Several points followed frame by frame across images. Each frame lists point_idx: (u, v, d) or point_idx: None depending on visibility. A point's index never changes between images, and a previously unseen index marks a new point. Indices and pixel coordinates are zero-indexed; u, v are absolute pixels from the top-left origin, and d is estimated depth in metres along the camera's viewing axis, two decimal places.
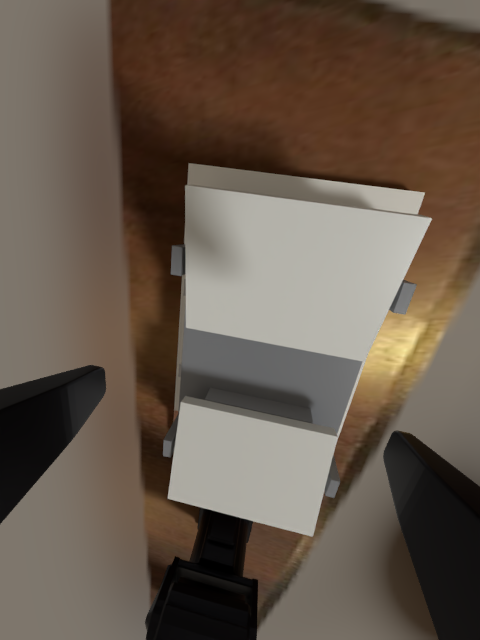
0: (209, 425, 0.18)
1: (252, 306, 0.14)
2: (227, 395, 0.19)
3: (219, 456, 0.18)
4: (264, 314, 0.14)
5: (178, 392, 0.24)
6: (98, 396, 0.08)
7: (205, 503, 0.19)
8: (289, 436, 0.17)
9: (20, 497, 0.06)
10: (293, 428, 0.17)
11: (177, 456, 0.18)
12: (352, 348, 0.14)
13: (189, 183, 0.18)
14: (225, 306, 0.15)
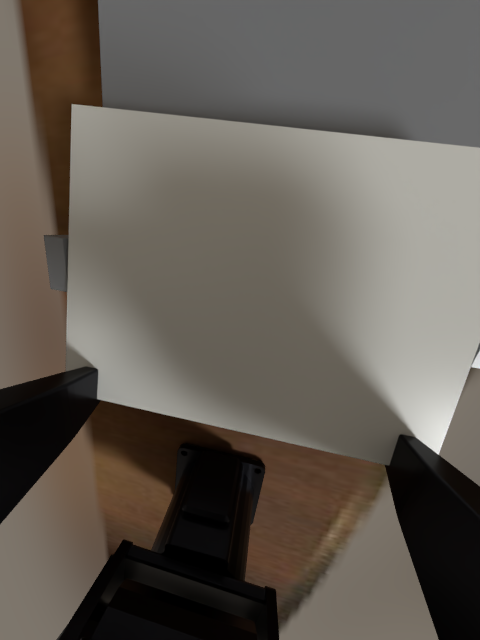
0: (153, 170, 0.06)
1: None
2: None
3: (183, 264, 0.07)
4: None
5: None
6: None
7: (154, 398, 0.08)
8: (388, 173, 0.06)
9: (20, 497, 0.06)
10: (401, 146, 0.06)
11: (77, 275, 0.07)
12: None
13: None
14: None
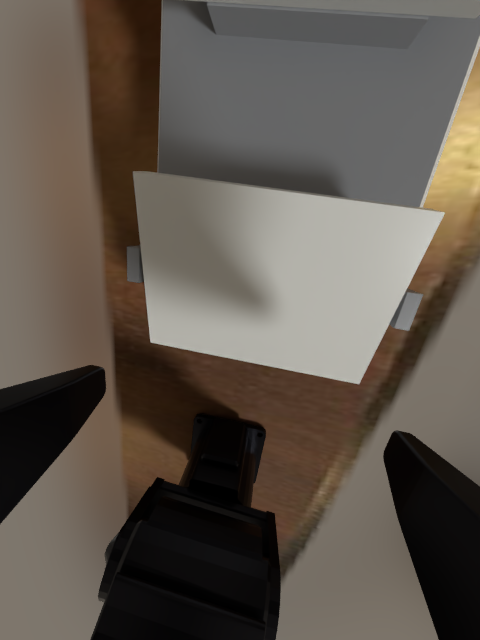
0: (192, 216, 0.10)
1: None
2: None
3: (215, 274, 0.11)
4: None
5: None
6: (98, 396, 0.08)
7: (203, 346, 0.13)
8: (343, 222, 0.09)
9: (20, 497, 0.06)
10: (352, 204, 0.09)
11: (149, 279, 0.12)
12: None
13: None
14: None
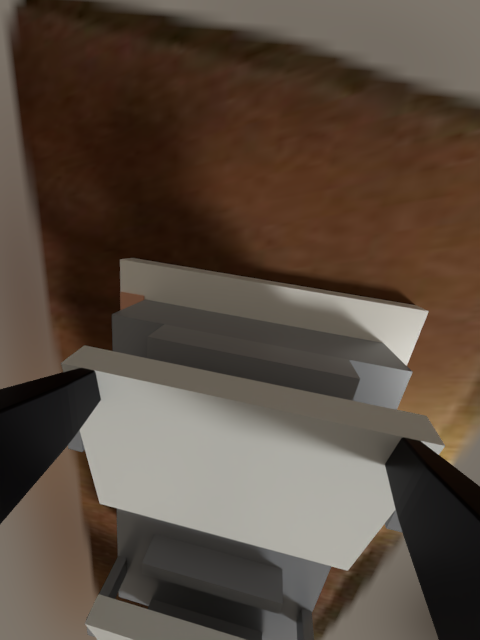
0: None
1: (184, 497, 0.10)
2: (174, 550, 0.15)
3: None
4: (202, 507, 0.10)
5: None
6: (98, 396, 0.08)
7: None
8: None
9: (20, 497, 0.06)
10: None
11: None
12: (330, 556, 0.10)
13: (122, 282, 0.14)
14: (148, 493, 0.10)
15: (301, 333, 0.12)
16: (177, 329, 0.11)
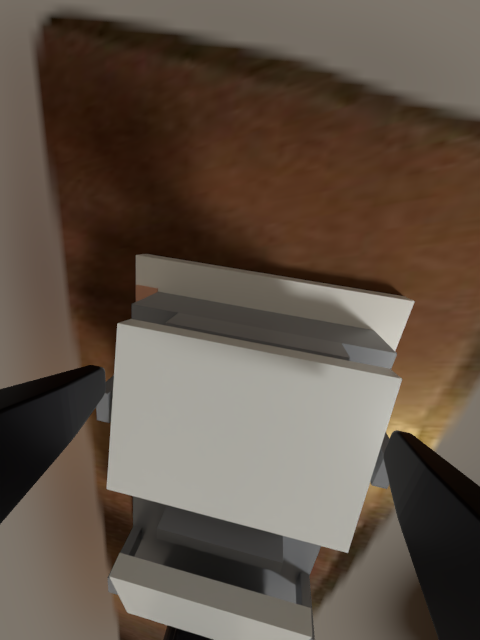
0: (150, 595, 0.14)
1: (194, 466, 0.11)
2: (185, 518, 0.17)
3: (170, 610, 0.15)
4: (210, 478, 0.11)
5: None
6: (98, 396, 0.08)
7: (166, 623, 0.17)
8: (250, 622, 0.13)
9: (20, 497, 0.06)
10: (254, 619, 0.13)
11: (124, 599, 0.16)
12: (330, 533, 0.11)
13: (138, 276, 0.15)
14: (160, 465, 0.11)
15: (300, 321, 0.14)
16: (190, 317, 0.12)
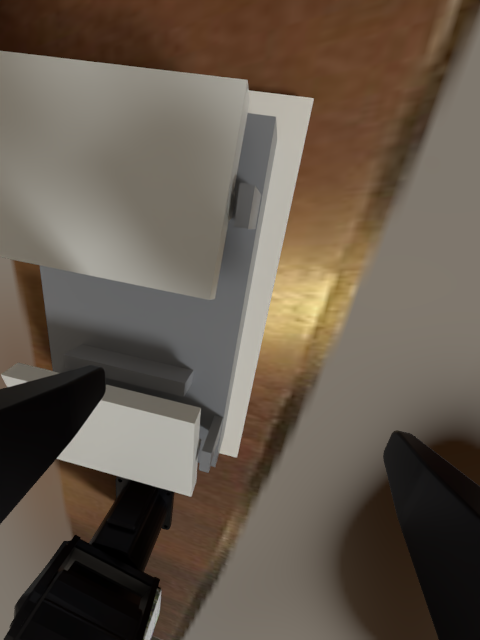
0: None
1: (57, 212, 0.10)
2: (96, 352, 0.16)
3: None
4: (73, 225, 0.10)
5: None
6: (98, 396, 0.08)
7: (80, 462, 0.17)
8: (138, 417, 0.13)
9: (20, 497, 0.06)
10: (140, 411, 0.13)
11: None
12: (191, 277, 0.10)
13: None
14: (24, 215, 0.11)
15: None
16: None
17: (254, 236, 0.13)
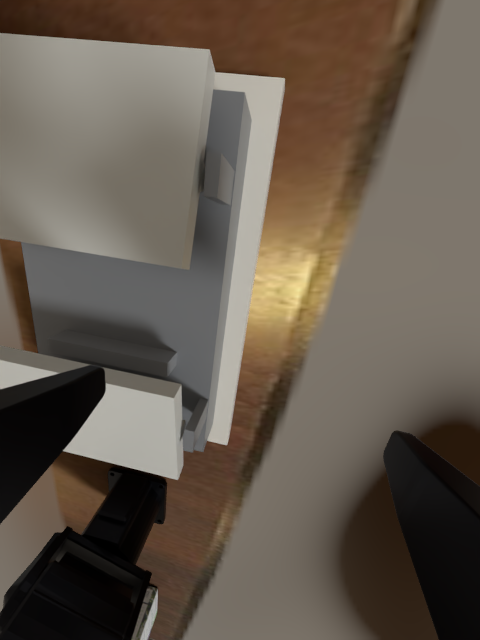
0: (27, 381, 0.14)
1: (31, 187, 0.11)
2: (80, 337, 0.17)
3: None
4: (47, 199, 0.11)
5: None
6: (98, 396, 0.08)
7: (66, 448, 0.17)
8: (119, 395, 0.13)
9: (20, 497, 0.06)
10: (120, 387, 0.13)
11: None
12: (163, 246, 0.10)
13: None
14: (0, 191, 0.11)
15: None
16: None
17: (230, 212, 0.13)
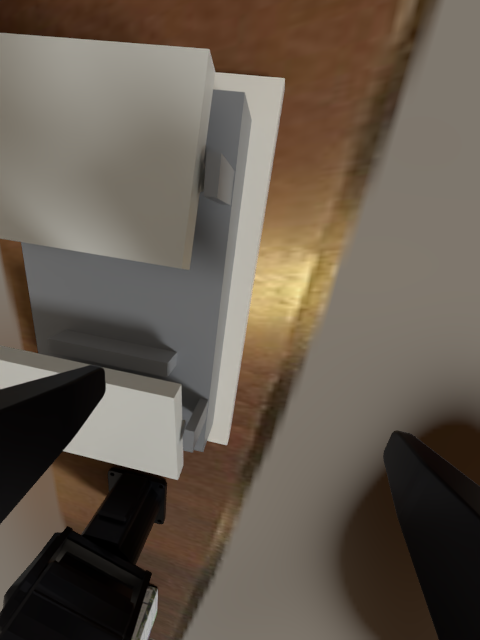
0: (27, 381, 0.14)
1: (31, 187, 0.11)
2: (80, 337, 0.17)
3: None
4: (47, 199, 0.11)
5: None
6: (98, 396, 0.08)
7: (66, 448, 0.17)
8: (119, 395, 0.13)
9: (20, 497, 0.06)
10: (120, 387, 0.13)
11: None
12: (163, 247, 0.10)
13: None
14: (0, 191, 0.11)
15: None
16: None
17: (230, 212, 0.13)
